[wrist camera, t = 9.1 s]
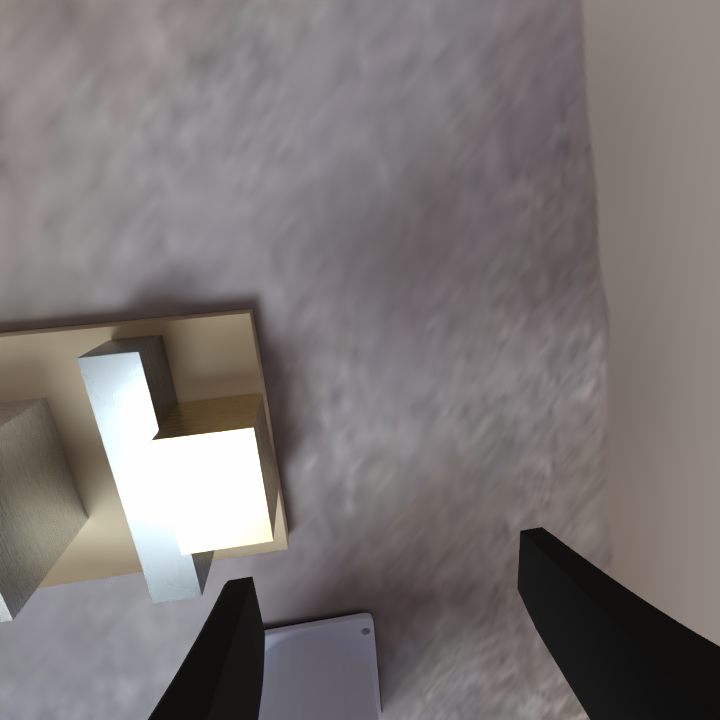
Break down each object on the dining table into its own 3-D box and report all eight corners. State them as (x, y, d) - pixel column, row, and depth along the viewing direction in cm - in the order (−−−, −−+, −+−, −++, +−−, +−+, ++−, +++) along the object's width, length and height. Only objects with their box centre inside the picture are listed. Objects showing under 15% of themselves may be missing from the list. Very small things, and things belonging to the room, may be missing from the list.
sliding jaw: (286, 542, 20) (283, 598, 17) (171, 559, 19) (146, 621, 16) (251, 325, 16) (239, 347, 13) (109, 339, 16) (63, 365, 13)
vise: (288, 534, 21) (285, 591, 18) (-67, 588, 19) (-143, 662, 16) (252, 308, 17) (240, 327, 14) (-194, 350, 16) (-328, 383, 12)
